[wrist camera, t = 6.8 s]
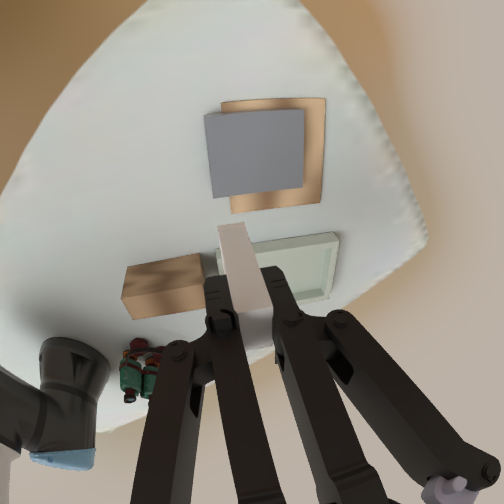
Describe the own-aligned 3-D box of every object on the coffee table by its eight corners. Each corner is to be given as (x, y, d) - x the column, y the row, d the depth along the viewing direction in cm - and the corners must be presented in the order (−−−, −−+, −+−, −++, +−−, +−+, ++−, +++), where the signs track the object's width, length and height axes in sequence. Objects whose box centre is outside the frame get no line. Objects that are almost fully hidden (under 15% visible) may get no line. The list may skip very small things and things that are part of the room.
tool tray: (224, 306, 44) (226, 317, 42) (215, 249, 37) (216, 259, 35) (324, 289, 46) (329, 298, 44) (332, 231, 39) (339, 241, 37)
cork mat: (231, 212, 34) (231, 213, 34) (221, 102, 26) (221, 103, 26) (318, 201, 36) (320, 202, 35) (323, 98, 28) (324, 98, 27)
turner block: (137, 287, 39) (132, 319, 34) (127, 266, 36) (120, 298, 32) (205, 275, 40) (208, 307, 35) (199, 252, 37) (201, 284, 33)
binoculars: (187, 391, 40) (160, 416, 43) (181, 341, 49) (157, 369, 52) (133, 376, 36) (112, 404, 38) (134, 324, 44) (115, 356, 47)
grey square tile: (213, 198, 31) (302, 187, 32) (203, 117, 26) (304, 109, 27) (212, 193, 32) (298, 182, 33) (203, 114, 27) (299, 107, 28)
